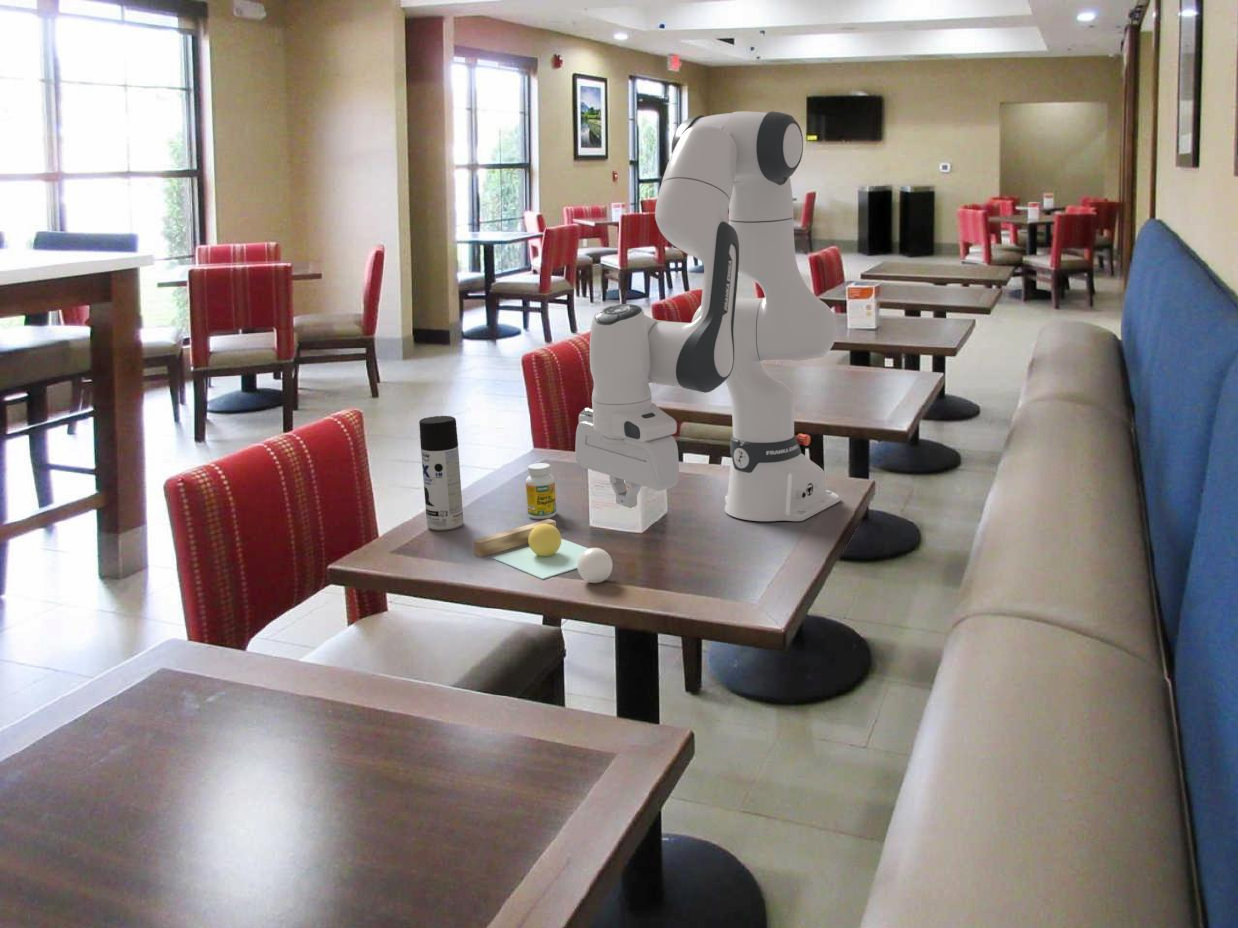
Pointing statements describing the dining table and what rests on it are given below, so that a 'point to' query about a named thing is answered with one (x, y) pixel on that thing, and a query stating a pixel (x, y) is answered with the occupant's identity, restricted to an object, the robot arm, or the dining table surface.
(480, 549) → the rail
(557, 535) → the ball
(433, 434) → the spray can
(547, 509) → the supplement bottle
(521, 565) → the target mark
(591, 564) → the ball
